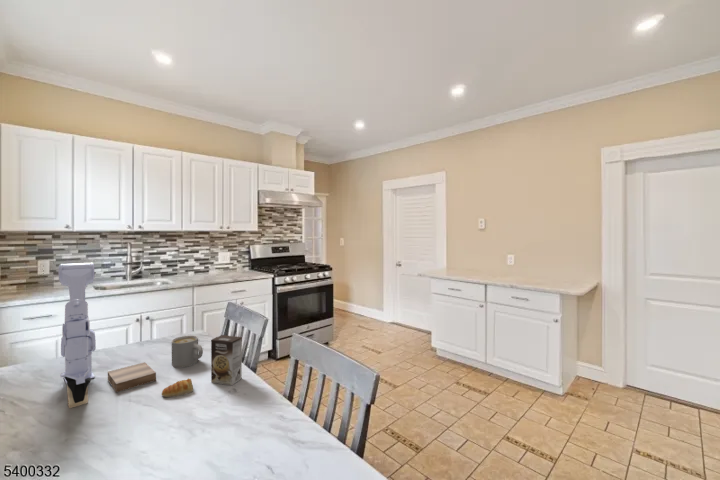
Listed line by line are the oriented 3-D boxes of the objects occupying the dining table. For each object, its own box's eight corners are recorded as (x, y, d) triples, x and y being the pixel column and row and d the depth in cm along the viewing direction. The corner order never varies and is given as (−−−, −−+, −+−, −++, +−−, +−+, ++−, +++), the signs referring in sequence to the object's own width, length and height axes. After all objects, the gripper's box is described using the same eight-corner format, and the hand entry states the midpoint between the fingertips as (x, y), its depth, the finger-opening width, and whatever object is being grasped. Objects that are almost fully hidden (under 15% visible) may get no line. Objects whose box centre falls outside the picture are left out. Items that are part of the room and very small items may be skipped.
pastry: (163, 401, 106) (163, 390, 106) (160, 393, 111) (160, 382, 111) (194, 392, 112) (194, 381, 112) (190, 385, 117) (190, 374, 117)
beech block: (67, 403, 104) (67, 384, 104) (85, 397, 108) (85, 380, 108) (69, 408, 101) (69, 389, 101) (88, 402, 105) (87, 384, 104)
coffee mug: (166, 364, 134) (166, 340, 134) (188, 356, 143) (188, 334, 143) (187, 371, 128) (187, 346, 128) (208, 362, 137) (208, 338, 137)
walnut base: (107, 379, 121) (107, 371, 121) (145, 369, 130) (145, 362, 129) (116, 392, 111) (116, 383, 111) (156, 380, 120) (155, 372, 120)
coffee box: (210, 383, 119) (210, 339, 118) (221, 375, 125) (221, 334, 124) (232, 386, 116) (231, 341, 116) (242, 378, 123) (242, 336, 122)
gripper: (57, 354, 106) (58, 395, 106) (62, 367, 96) (63, 412, 97) (85, 348, 111) (86, 387, 112) (93, 360, 101) (93, 402, 102)
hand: (77, 398), depth 104 cm, fingers open, 5 cm apart
